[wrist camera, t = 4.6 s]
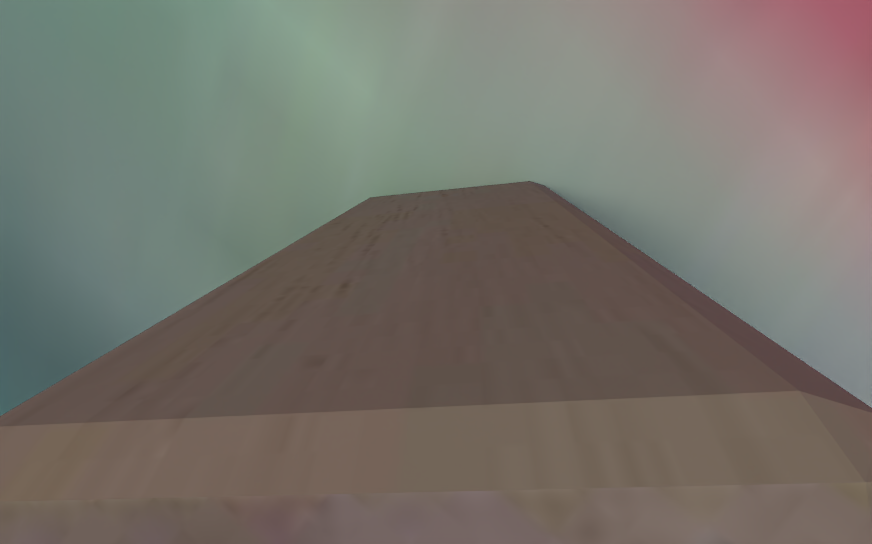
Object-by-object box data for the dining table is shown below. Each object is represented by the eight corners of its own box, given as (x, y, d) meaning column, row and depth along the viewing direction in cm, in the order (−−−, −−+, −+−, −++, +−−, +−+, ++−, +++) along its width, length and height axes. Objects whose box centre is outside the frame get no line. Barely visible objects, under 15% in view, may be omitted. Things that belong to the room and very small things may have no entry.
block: (383, 362, 26) (128, 1009, 7) (356, 196, 23) (-243, 507, 4) (552, 352, 24) (829, 1099, 5) (547, 177, 22) (1100, 476, 3)
